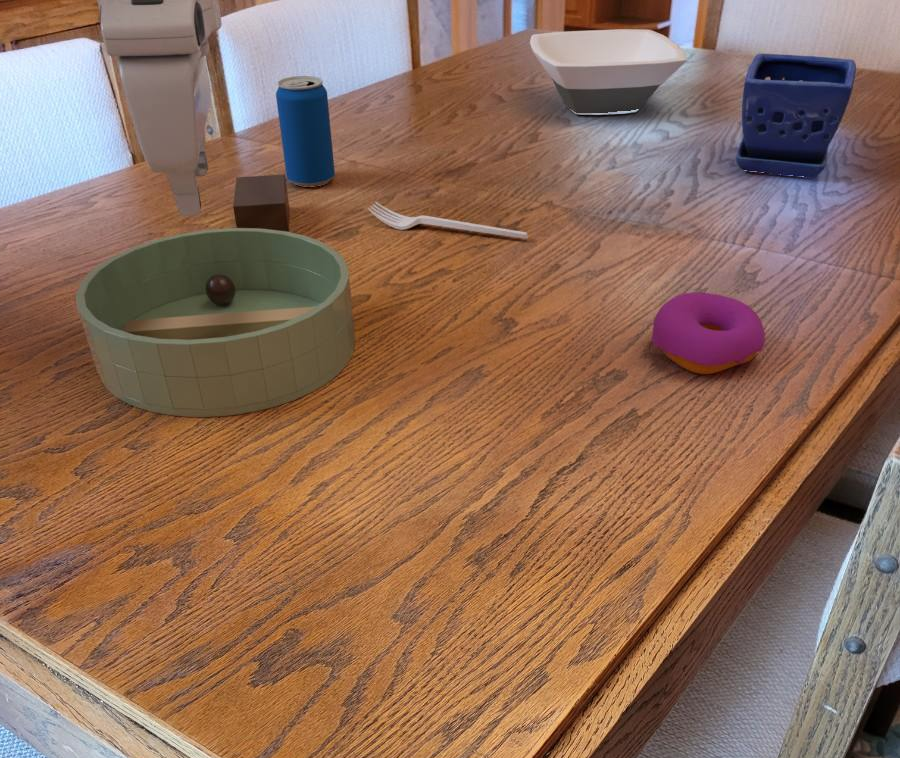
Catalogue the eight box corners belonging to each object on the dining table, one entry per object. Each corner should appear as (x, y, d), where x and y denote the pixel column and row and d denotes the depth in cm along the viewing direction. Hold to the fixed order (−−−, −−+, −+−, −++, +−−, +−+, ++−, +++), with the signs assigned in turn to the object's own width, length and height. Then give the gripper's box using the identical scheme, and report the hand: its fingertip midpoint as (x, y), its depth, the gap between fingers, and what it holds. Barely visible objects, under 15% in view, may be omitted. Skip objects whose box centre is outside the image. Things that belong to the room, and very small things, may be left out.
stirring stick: (129, 355, 85) (122, 331, 84) (132, 343, 87) (126, 320, 85) (320, 340, 87) (317, 317, 85) (319, 329, 89) (316, 306, 87)
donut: (691, 390, 81) (700, 343, 78) (627, 342, 87) (632, 297, 84) (781, 363, 84) (793, 317, 81) (712, 319, 91) (721, 275, 88)
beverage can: (344, 183, 121) (335, 83, 113) (301, 193, 118) (288, 91, 110) (321, 170, 125) (310, 72, 117) (279, 179, 122) (265, 80, 114)
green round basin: (78, 428, 78) (52, 354, 73) (116, 302, 95) (98, 236, 91) (362, 404, 80) (356, 331, 75) (348, 286, 98) (342, 220, 93)
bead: (202, 271, 92) (212, 297, 94) (199, 287, 90) (209, 313, 92) (231, 266, 92) (240, 292, 94) (229, 282, 90) (238, 308, 92)
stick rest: (239, 240, 107) (232, 206, 104) (241, 210, 114) (236, 177, 112) (289, 237, 108) (285, 203, 105) (289, 207, 115) (285, 174, 112)
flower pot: (829, 186, 117) (856, 84, 109) (725, 176, 121) (744, 76, 112) (832, 154, 126) (857, 58, 118) (735, 146, 130) (754, 51, 121)
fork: (523, 246, 105) (523, 230, 103) (367, 225, 110) (365, 209, 109) (531, 236, 107) (532, 219, 106) (377, 215, 112) (376, 200, 111)
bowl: (519, 90, 152) (521, 32, 146) (651, 84, 154) (658, 27, 148) (543, 130, 136) (546, 67, 131) (690, 123, 138) (699, 60, 132)
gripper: (132, -22, 75) (168, 155, 85) (96, 34, 60) (144, 240, 70) (209, -24, 76) (236, 152, 85) (191, 31, 61) (226, 236, 71)
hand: (194, 192), depth 78 cm, fingers open, 8 cm apart
